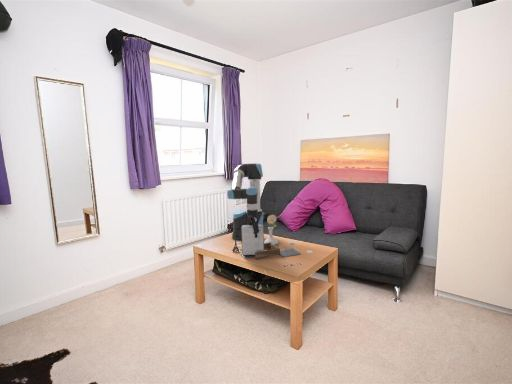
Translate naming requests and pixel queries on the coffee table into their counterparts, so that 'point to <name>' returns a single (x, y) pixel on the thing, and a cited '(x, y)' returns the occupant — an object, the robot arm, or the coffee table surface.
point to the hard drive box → (252, 240)
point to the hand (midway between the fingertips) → (253, 239)
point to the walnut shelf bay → (268, 251)
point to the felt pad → (289, 252)
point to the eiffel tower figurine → (236, 246)
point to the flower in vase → (271, 220)
